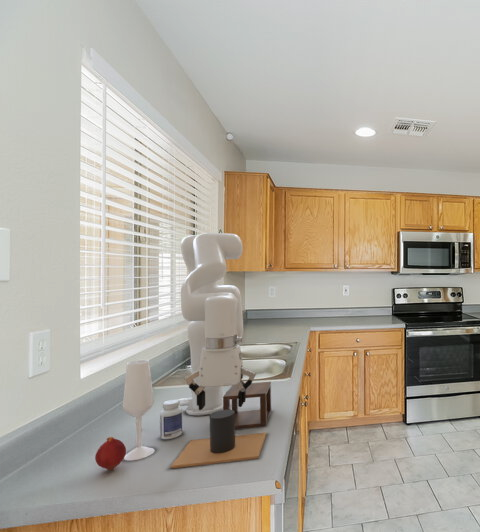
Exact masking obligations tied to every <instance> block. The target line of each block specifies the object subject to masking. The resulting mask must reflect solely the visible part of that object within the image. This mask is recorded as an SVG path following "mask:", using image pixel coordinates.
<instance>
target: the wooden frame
mask: <svg viewBox="0 0 480 532" xmlns="http://www.w3.org/2000/svg"><path fill="white" fill-rule="evenodd" d="M239 391H240V390H239V389H238V388H237V387H236V386H235V385H232V386H229V389H228V390H227V391H226V392H225V394H223V410H234V411H235V430H243V429H251V428H252V429H253V428H261V427H262V428H263V427H267V424H268V422H269V419H270V416H271V413H272V382H271V381H263V382H252V383H251V385H250V386H249V387H248V388H247V389H246V399H251V398H253V399H254V398H259V409H252V410H241V411H239V406H238V392H239Z"/></svg>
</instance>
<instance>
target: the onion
mask: <svg viewBox="0 0 480 532" xmlns="http://www.w3.org/2000/svg"><path fill="white" fill-rule="evenodd" d="M126 454H127V448H126V445H125V443H124V442H123V441H121V440H120V439H117V438H115V437H113V436H109V437H107V438H106V441H105V442H103V443H102V444H101V445H100V446H99V448H98V449H97V451H96V453H95V456H94V459H95V460H94V461H95V463H96V464H97V465H98V467H100V468H102V469H106V470H107V471H113V470H114V469H115V468H116V467H118V466H119V465H120V464H121V463H122V462H123V460H124V457H125V455H126Z"/></svg>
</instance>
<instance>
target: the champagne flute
mask: <svg viewBox="0 0 480 532" xmlns="http://www.w3.org/2000/svg"><path fill="white" fill-rule="evenodd" d="M151 373H152V372H151V366H150V360H149V359H137V360H131V361H128V362H126V369H125V379H124V387H123V400H122V409H123V411H124V412H125V413H126V414H128V415H129V416H131V417H133V418H135V436H136V438H135V439H136V440H135V441H136V444H135V445H136V447H134V448H133V449H132V450H130V451H129V452H127V453H126V455H125V457H124V459H123V460H125V461H128V462H129V461H137V460H143V459H145V458H147V457H150V456H151V455H153V454H154V453H155V449H154V448H153V447H149V446H145V445H143V427H142V426H143V424H142V423H143V422H142V421H143V419H142V418H143V416H144V415H146V414H147V413H148V412H149V410H151V408H152V407H153V405H154V403H155V397H154V389H153V382H152V374H151Z"/></svg>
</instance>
